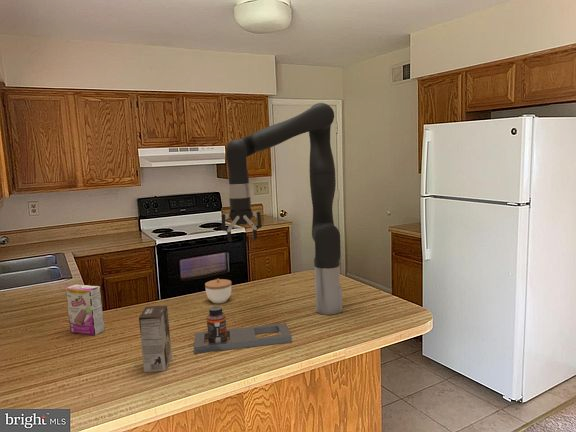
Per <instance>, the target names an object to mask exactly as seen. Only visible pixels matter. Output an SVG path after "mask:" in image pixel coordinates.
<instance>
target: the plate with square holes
mask: <svg viewBox="0 0 576 432" xmlns="http://www.w3.org/2000/svg"><path fill="white" fill-rule="evenodd" d="M226 331H227V341H225V342H216V343H209V342H208V330H207V331H199V332H195V334H194V335H195V336H194V343H193V353H194V354H201V353H209V352H218V351H226V350H236V349H245V348H254V347H262V346H268V345H269V346H270V345H279V344H288V343H292V342H293V338H292V337H293V336H292V333H291V331H290V329H289V327H288V324H287V322H285V323H284V322H282V323H274V324H273V323H272V324H265V325H255V326H246V327H235V328H228V329H227V328H226ZM276 332H278V335H272V336H262V337H257V336H256V335H259V334H266V333H276Z"/></svg>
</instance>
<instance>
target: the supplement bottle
mask: <svg viewBox="0 0 576 432" xmlns="http://www.w3.org/2000/svg"><path fill="white" fill-rule="evenodd" d="M208 310H209V311H208V313H209V314H207V315H206V324H207V325H206V328H207V329H206V330H207V331H208V342H209V343H216V342H225V341H227V331H226V329H227V319H226V313H224V312H223V307H222V306H221V305H217V306H215V305H214V306H211V307H209V308H208Z"/></svg>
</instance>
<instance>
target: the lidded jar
mask: <svg viewBox="0 0 576 432" xmlns="http://www.w3.org/2000/svg"><path fill="white" fill-rule="evenodd" d="M204 288H205V293H206V296H207V299H208V300H210V301H211V302H212V303H213V304H223V303H227V301H228V300H229V298H230V296H231V294H232V280H230V279H223V278H221V279H220V278H216V279H212V280H209V281H207V282H205V283H204Z"/></svg>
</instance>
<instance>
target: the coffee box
mask: <svg viewBox="0 0 576 432" xmlns="http://www.w3.org/2000/svg"><path fill="white" fill-rule="evenodd" d="M169 320H170V319H169V311H168V305H167V304H166V305H150V306H145V308H144V309H143V311H142V312H141V313H140V316H139V317H138V322H139V333H140V342H141V344H140V345H141V353H142V363H143V372H144V373H151V372H152V373H153V372H163V371H164V372H165V371H167V369H168V367H169V365H170V361H171V360H172V356H173V353H172V343H171V334H170V333H171V332H170V331H171V330H170V323H169V322H170V321H169Z"/></svg>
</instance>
